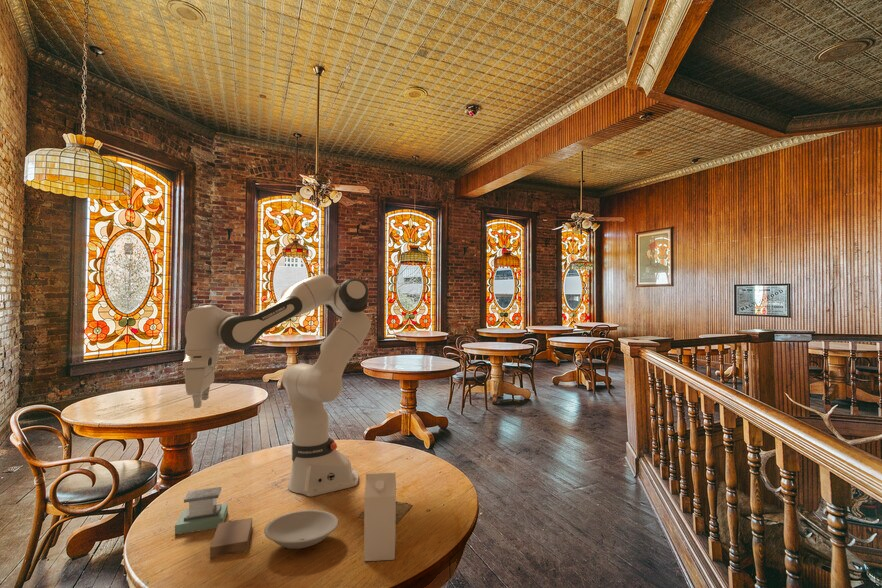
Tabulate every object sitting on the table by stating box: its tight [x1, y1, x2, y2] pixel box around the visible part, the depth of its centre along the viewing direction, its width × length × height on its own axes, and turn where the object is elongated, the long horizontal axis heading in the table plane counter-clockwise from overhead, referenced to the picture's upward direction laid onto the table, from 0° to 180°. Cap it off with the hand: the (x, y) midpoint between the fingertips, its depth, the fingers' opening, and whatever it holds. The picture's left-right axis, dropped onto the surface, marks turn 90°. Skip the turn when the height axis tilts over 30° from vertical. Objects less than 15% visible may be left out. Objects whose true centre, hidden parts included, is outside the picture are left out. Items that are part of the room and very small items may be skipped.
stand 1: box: [174, 503, 229, 535], centre depth 110 cm, size 11×8×2 cm
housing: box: [183, 486, 222, 521], centre depth 111 cm, size 5×8×6 cm, turn 109°
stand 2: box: [209, 517, 253, 559], centre depth 102 cm, size 8×11×2 cm
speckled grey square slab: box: [357, 500, 414, 525], centre depth 117 cm, size 12×12×1 cm
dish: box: [263, 509, 339, 550], centre depth 101 cm, size 18×14×5 cm
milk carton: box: [363, 472, 397, 562], centre depth 98 cm, size 7×7×19 cm
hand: (201, 403), depth 124 cm, fingers open, 8 cm apart
